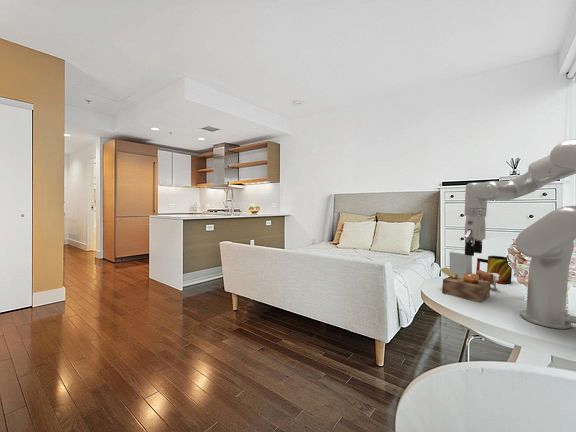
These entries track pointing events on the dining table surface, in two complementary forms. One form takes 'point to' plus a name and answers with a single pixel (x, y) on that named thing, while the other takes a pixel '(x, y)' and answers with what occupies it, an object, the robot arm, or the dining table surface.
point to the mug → (498, 268)
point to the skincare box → (460, 263)
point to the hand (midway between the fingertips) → (473, 253)
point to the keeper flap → (449, 273)
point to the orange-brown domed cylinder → (471, 278)
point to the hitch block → (466, 289)
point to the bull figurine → (488, 277)
